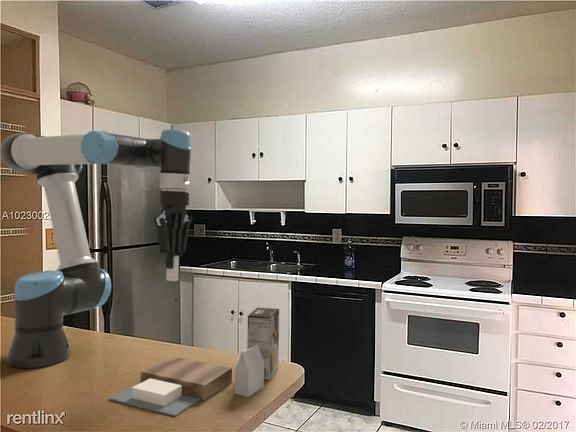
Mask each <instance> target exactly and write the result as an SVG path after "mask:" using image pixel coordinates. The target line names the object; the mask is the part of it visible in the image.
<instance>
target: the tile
mask: <svg viewBox="0 0 576 432" xmlns="http://www.w3.org/2000/svg"><path fill="white" fill-rule="evenodd" d="M137 384H138V385H136V384H135V385H136V386H134V385H133V386H134V387H132V386H131V387H132V398H133V399H137V400H141V401H145V402H149V403H153V404H157V405H161V406H166V405H167V404H169V403H171V402H172V401H174V400H176V399H177V398H179V397H181V396H182V385H178V384H174V383H169V382H165V381H160V380H156V379H151V378H150V379H148V380H146V381H144V382H142V383H141V382H140V383H137Z"/></svg>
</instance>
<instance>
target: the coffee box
mask: <svg viewBox="0 0 576 432" xmlns="http://www.w3.org/2000/svg"><path fill="white" fill-rule="evenodd" d="M279 336H280V308H271V307H270V308H269V307H267V308H266V307H256V308H255V309H253V311H251V312H250V313H249V314H248V315H247V337H246V338H247V340H246V341H247V349H249V348H251V347H253V346H255V345H259V350H260V353H261V356H262V358H263V361H264V380H268V381H269V380H271V379H272V378H273V376H274V374H275V373H276V371H277V369H278V368H279V350H280V348H279V343H280V341H279V339H280V337H279ZM247 349H246V350H247Z"/></svg>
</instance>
